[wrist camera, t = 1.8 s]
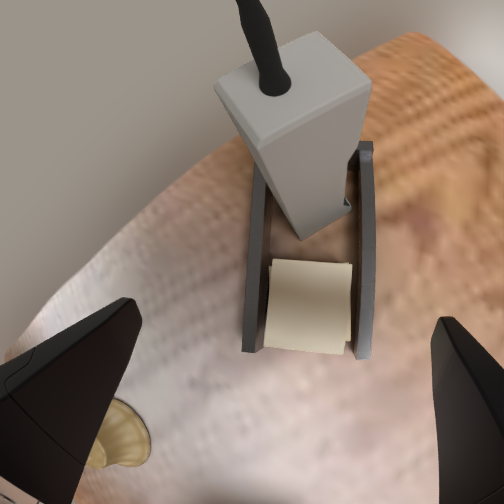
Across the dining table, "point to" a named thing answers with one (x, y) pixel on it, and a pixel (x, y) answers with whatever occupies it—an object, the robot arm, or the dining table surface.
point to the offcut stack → (309, 306)
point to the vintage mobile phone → (297, 118)
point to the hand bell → (120, 439)
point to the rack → (261, 246)
